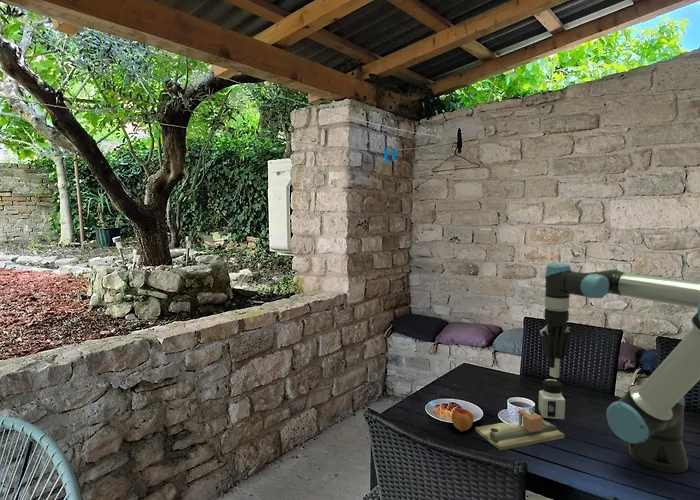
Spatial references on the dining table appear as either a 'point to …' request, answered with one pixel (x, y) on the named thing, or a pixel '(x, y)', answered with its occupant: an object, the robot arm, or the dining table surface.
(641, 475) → the dining table surface
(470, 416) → the apple
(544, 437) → the board
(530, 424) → the block
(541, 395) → the container
